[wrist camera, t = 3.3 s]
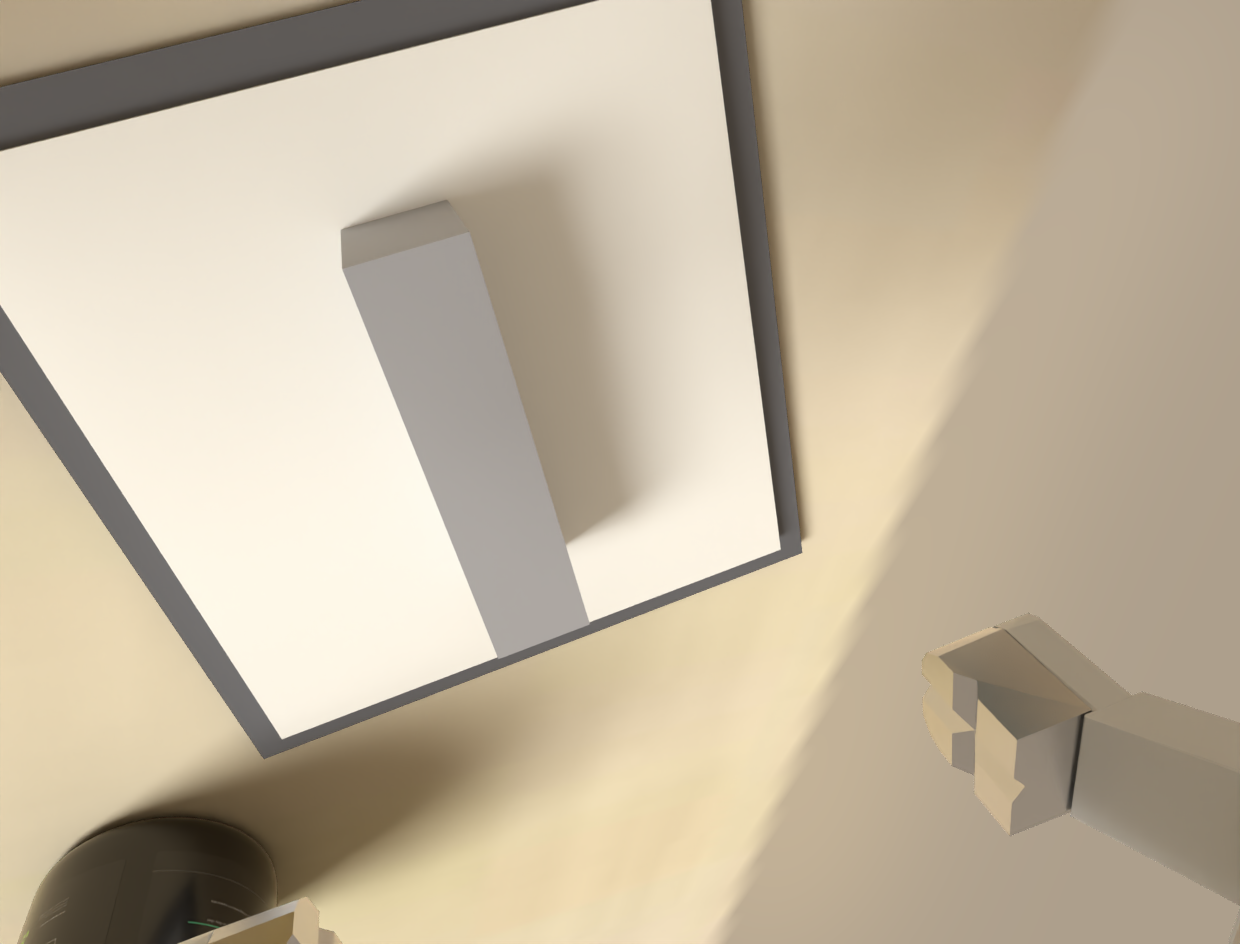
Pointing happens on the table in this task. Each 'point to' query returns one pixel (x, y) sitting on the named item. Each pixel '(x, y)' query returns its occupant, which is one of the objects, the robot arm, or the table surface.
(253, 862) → the supplement bottle
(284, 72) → the mat
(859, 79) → the table surface
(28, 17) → the table surface
